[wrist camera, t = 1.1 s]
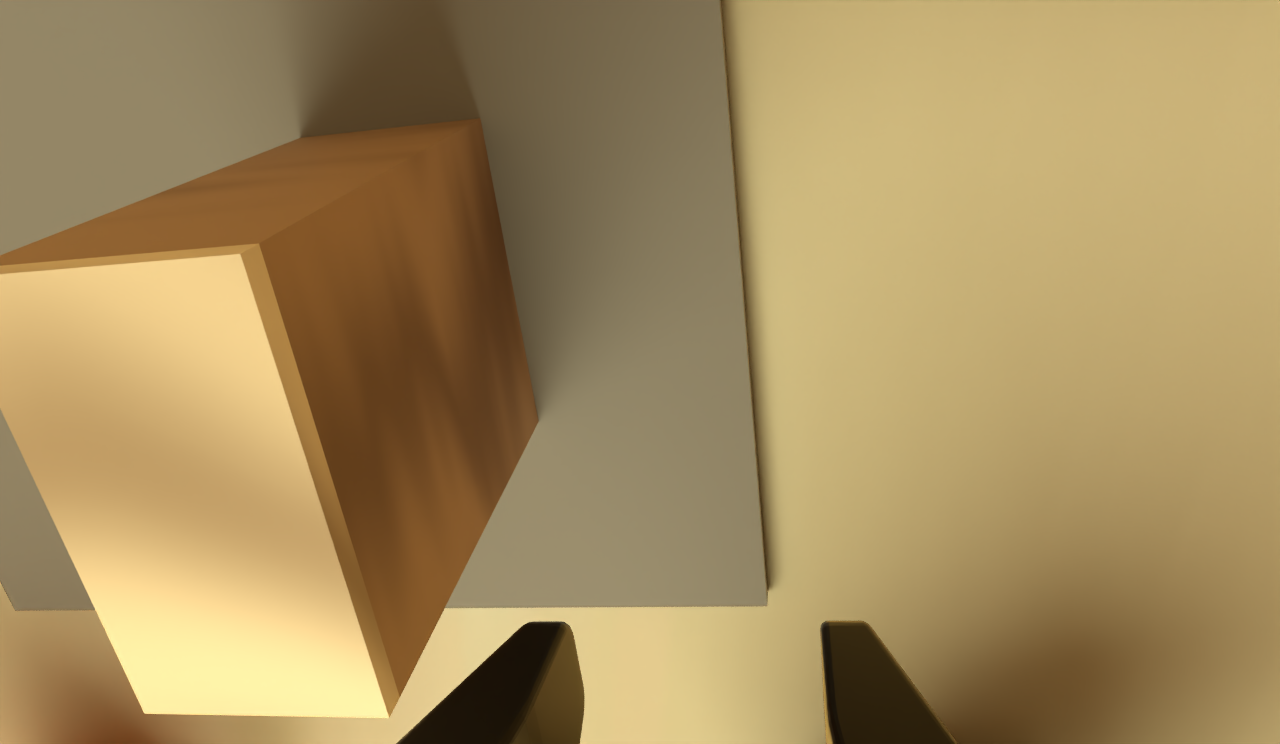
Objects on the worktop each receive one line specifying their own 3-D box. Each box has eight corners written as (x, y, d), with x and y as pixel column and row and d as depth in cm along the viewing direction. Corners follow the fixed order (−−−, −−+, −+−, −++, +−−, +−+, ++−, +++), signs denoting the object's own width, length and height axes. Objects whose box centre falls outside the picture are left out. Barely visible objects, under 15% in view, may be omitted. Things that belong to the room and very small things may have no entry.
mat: (767, 593, 23) (767, 606, 22) (28, 599, 27) (15, 610, 26) (702, -243, 15) (699, -248, 15) (-310, -65, 19) (-337, -65, 19)
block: (538, 421, 21) (389, 718, 13) (380, 428, 22) (145, 713, 14) (480, 118, 18) (240, 254, 10) (300, 137, 19) (-61, 279, 11)
